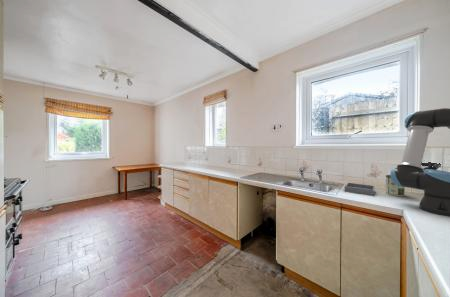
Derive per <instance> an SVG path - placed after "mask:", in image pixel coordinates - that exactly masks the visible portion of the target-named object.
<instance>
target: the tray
mask: <svg viewBox="0 0 450 297" xmlns="http://www.w3.org/2000/svg"><path fill="white" fill-rule="evenodd" d="M375 190H376V186H375V185H370V184H363V183H362V184H361V183H355V182H347V183H346V184H345V185H344V192H349V193H353V194H354V193H355V194H362V195H368V196H375V192H376V191H375Z"/></svg>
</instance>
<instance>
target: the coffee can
mask: <svg viewBox="0 0 450 297" xmlns="http://www.w3.org/2000/svg"><path fill="white" fill-rule="evenodd" d="M405 189H406V187H402V186H397V185H395V184H394V183H393V182H392V180H391V176H390V174H386V175H385V194H387V195H391V196H395V197H404V196H405V191H406V190H405Z"/></svg>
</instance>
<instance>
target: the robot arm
mask: <svg viewBox="0 0 450 297" xmlns="http://www.w3.org/2000/svg"><path fill="white" fill-rule="evenodd" d="M442 127H443V128H447V129H449V130H450V108H449V107H448V108H445V107H444V108H435V109H428V110H419V111H414V112H411V113H408V114H407V116H406V117H405V119H404V128H405V129H406V130H407V131H408V133H409V134H408V137H407V139H406V140H407V141H406V143H405V148H404V152H403V156H402V159H401V163H398V164H397V165H396V167H392V169H391V170H390V174H389V175H390V176H391V180H392V182H393V183H394V184H395V185H397V186H402V187H405V188H408V189H414V190H419V191H420V190H421V191H423V192H424V193H423V197H422V198H421V200H420V202H419V206H418V207H419V209H421V210H423V211H425V212H428V213H433V214H436V215H442V216H448V217H450V172H449V171H445V170H439V168H441V167H442V166H441V164H440V163H439V164H437V163H431V162H428V163H422V161H423V159H424V155H425V151H426V147H427V143H428V139H429V135H430V134H431V133H433V132H434V129H435V128H442ZM421 165H422V166H421ZM432 166H433V167H432Z"/></svg>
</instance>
